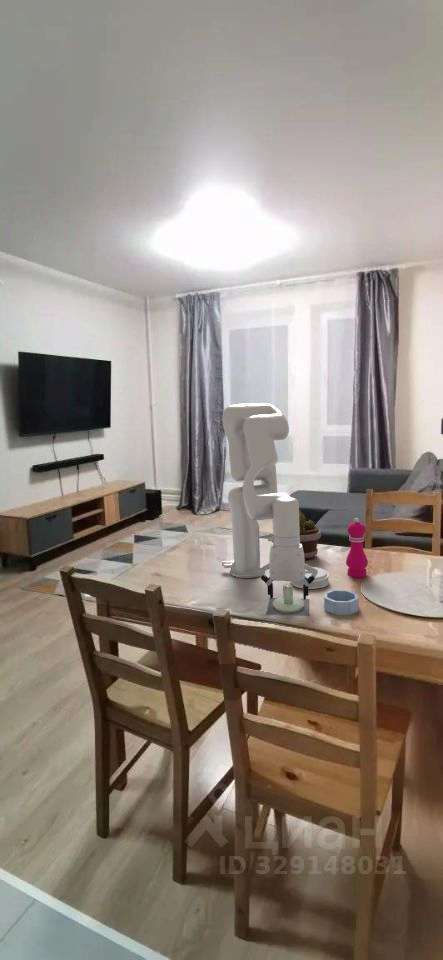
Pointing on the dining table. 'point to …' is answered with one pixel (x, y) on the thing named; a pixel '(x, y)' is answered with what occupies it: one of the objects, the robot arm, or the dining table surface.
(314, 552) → the flowerpot
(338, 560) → the dining table surface
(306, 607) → the mat
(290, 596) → the cover
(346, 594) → the bowl
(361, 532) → the pepper mill
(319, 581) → the lid
